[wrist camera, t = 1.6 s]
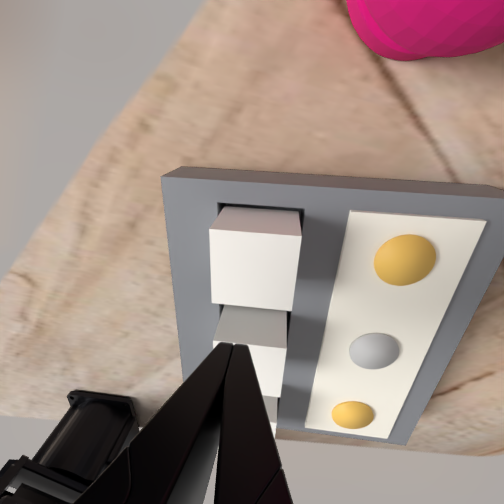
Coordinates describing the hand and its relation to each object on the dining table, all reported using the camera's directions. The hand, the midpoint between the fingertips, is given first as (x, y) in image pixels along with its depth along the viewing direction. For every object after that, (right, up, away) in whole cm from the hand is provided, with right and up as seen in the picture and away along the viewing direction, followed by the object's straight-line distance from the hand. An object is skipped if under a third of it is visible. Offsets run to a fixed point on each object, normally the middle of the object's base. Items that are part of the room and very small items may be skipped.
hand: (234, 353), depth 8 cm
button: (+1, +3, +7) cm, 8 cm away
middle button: (+1, -2, +10) cm, 10 cm away
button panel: (+4, -1, +12) cm, 12 cm away
